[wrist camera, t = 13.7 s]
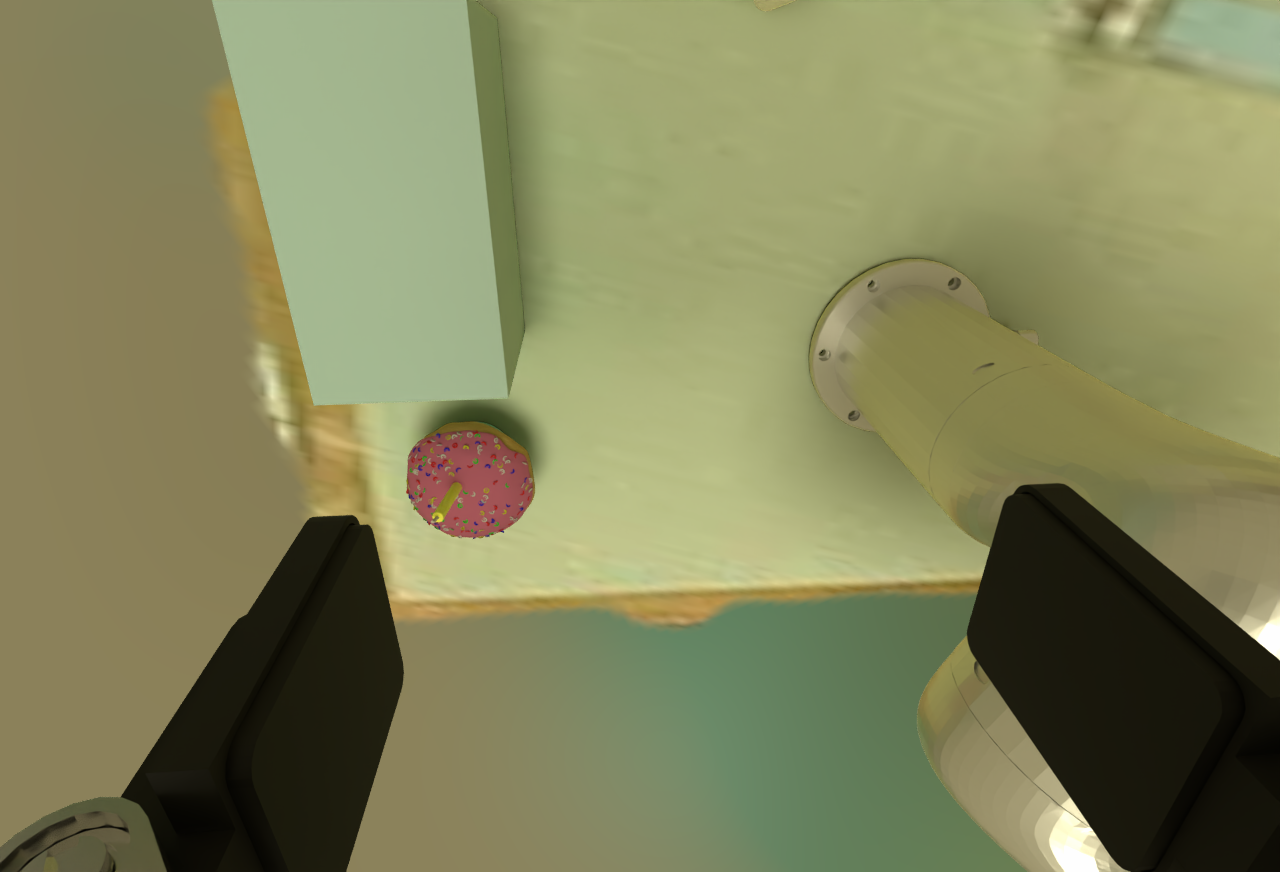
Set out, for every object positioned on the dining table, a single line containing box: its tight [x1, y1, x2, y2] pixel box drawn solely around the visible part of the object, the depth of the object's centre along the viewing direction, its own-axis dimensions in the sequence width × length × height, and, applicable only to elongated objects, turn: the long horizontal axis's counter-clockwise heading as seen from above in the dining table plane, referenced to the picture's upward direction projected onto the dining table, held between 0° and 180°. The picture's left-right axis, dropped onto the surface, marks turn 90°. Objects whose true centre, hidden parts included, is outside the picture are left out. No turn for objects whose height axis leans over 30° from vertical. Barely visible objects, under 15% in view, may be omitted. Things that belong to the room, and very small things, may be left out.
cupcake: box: [406, 421, 535, 539], centre depth 44 cm, size 9×8×12 cm
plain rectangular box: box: [212, 0, 525, 405], centre depth 36 cm, size 10×18×11 cm, turn 0°
